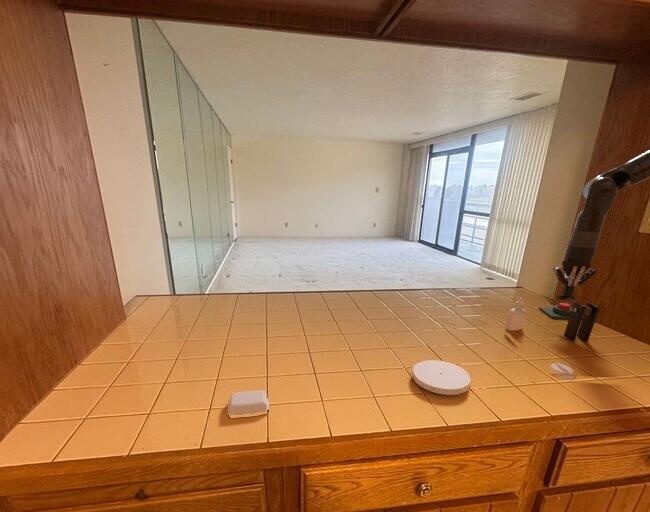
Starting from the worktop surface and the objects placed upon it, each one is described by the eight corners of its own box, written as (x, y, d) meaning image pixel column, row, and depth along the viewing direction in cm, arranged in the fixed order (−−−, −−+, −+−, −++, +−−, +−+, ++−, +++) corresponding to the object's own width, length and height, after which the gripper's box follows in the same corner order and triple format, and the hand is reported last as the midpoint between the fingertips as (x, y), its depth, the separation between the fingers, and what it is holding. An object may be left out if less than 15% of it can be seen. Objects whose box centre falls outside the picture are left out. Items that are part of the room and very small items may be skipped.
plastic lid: (431, 363, 97) (432, 355, 96) (479, 384, 88) (481, 375, 87) (400, 380, 89) (401, 371, 88) (450, 405, 79) (452, 396, 78)
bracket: (553, 334, 117) (564, 298, 112) (578, 336, 116) (590, 300, 111) (570, 348, 107) (582, 309, 103) (597, 349, 107) (611, 311, 102)
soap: (268, 396, 81) (267, 386, 80) (270, 415, 75) (269, 403, 74) (228, 400, 79) (227, 390, 78) (227, 419, 73) (225, 408, 72)
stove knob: (565, 366, 97) (567, 359, 96) (583, 380, 90) (585, 373, 90) (539, 365, 97) (541, 359, 96) (555, 379, 90) (557, 373, 89)
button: (565, 307, 132) (567, 302, 131) (571, 310, 128) (572, 306, 128) (555, 306, 132) (557, 302, 131) (561, 310, 128) (562, 305, 128)
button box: (569, 313, 136) (572, 304, 134) (585, 323, 126) (588, 313, 125) (538, 312, 136) (540, 302, 135) (550, 321, 127) (553, 311, 126)
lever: (556, 299, 119) (558, 293, 118) (571, 300, 118) (573, 294, 117) (577, 315, 107) (580, 307, 106) (594, 315, 107) (597, 308, 106)
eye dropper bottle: (523, 334, 116) (532, 301, 111) (505, 333, 117) (513, 299, 112) (519, 329, 120) (527, 296, 115) (501, 328, 121) (509, 295, 116)
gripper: (567, 245, 107) (551, 298, 114) (612, 247, 106) (593, 300, 113) (554, 241, 114) (540, 291, 121) (597, 243, 113) (580, 293, 120)
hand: (566, 295), depth 117 cm, fingers closed
